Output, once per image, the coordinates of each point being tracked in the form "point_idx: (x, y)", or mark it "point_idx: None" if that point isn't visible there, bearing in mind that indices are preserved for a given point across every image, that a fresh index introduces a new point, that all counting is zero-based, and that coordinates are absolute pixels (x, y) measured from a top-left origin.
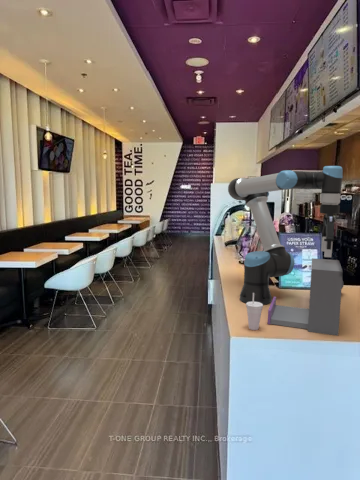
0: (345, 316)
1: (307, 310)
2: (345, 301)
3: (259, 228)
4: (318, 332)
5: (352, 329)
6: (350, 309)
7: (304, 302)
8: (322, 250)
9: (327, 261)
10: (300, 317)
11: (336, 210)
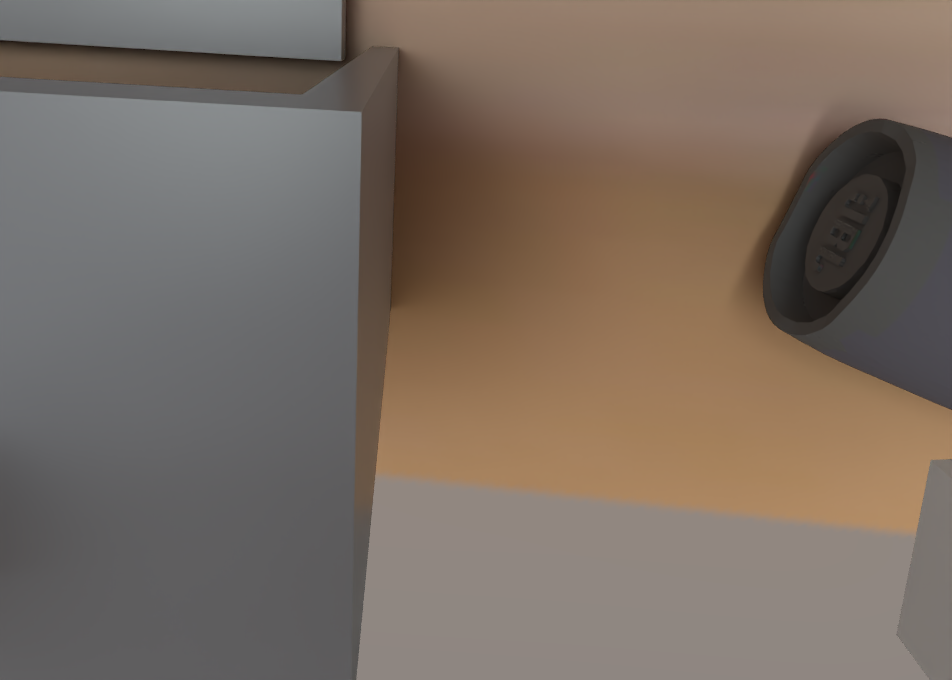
0: (398, 399)
1: (269, 24)
2: (894, 447)
3: None
4: None
5: None
6: (634, 463)
7: (768, 11)
8: (943, 508)
9: (28, 508)
10: None
11: None
